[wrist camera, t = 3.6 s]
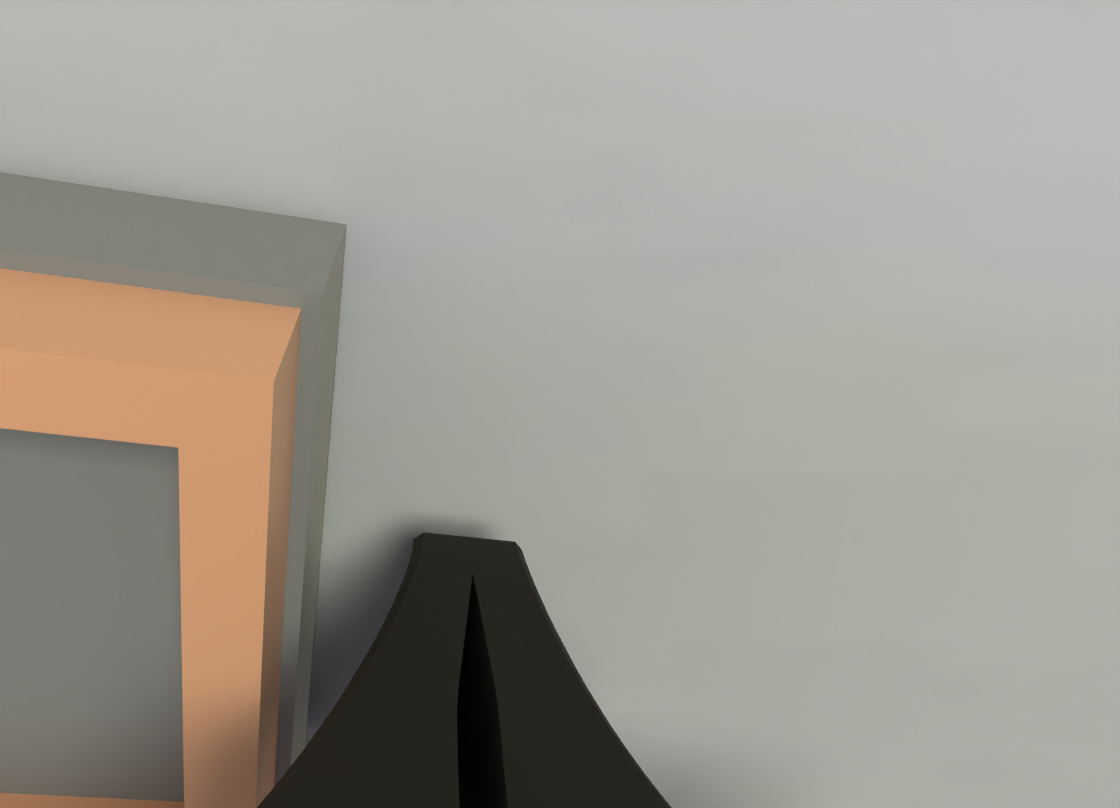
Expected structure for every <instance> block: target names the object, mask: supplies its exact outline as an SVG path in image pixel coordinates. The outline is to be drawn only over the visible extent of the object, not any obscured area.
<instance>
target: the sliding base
mask: <svg viewBox="0 0 1120 808" xmlns="http://www.w3.org/2000/svg"><path fill="white" fill-rule="evenodd" d="M345 235H346V225H345V224H339V223H332V222H325V221H319V220H312V219H305V218H299V217H292V216H285V215H279V214H272V213H265V212H259V211H252V210H246V209H239V208H232V207H226V206H219V205H212V204H206V203H199V202H192V201H186V200H179V199H172V198H166V197H159V196H152V195H146V194H139V193H132V192H126V191H119V190H112V189H106V188H99V187H92V186H86V185H79V184H73V183H66V182H59V181H53V180H46V179H39V178H33V177H26V176H19V175H13V174H6V173H0V808H257V807H258V806H259V804H260V803H261V802H262V801H263V800H264V798H265V797H266V796H267V795H268V794H269V793H270V791H271V790H272V789H273V788H274V786H275V785H276V784H277V783H278V781H279V780H280V779H281V778H282V776H283V775H284V774H285V773H286V771H287V770H288V769H289V768H290V766H291V765H292V764H293V763H294V761H295V760H296V759H297V758H298V756H299V755H300V754H301V753H302V751H303V750H304V746H305V741H306V731H307V718H308V705H309V693H310V680H311V667H312V654H313V642H314V629H315V616H316V604H317V591H318V578H319V566H320V553H321V540H322V527H323V515H324V502H325V489H326V477H327V464H328V451H329V439H330V426H331V413H332V401H333V388H334V375H335V362H336V350H337V337H338V324H339V312H340V299H341V286H342V274H343V261H344V248H345Z"/></svg>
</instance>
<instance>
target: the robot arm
mask: <svg viewBox="0 0 1120 808" xmlns="http://www.w3.org/2000/svg"><path fill="white" fill-rule="evenodd" d="M257 808H671V807H670V805H669V804H668V803H667V801H666V800H665V799H664V798H663V796H662V795H661V794H660V793H659V791H658V790H657V789H656V788H655V786H654V785H653V784H652V782H651V781H650V780H649V779H648V777H647V776H646V775H645V773H644V772H643V771H642V769H641V768H640V767H639V765H638V764H637V762H636V761H635V760H634V758H633V757H632V756H631V754H630V753H629V752H628V750H627V749H626V747H625V746H624V744H623V743H622V742H621V740H620V739H619V737H618V736H617V734H616V733H615V731H614V730H613V728H612V727H611V725H610V724H609V722H608V721H607V719H606V718H605V716H604V714H603V713H602V711H601V709H600V708H599V706H598V705H597V703H596V701H595V700H594V698H593V696H592V695H591V693H590V692H589V690H588V688H587V687H586V685H585V683H584V681H583V680H582V678H581V676H580V674H579V673H578V671H577V669H576V667H575V666H574V664H573V662H572V660H571V658H570V656H569V654H568V652H567V650H566V649H565V647H564V645H563V643H562V641H561V639H560V637H559V635H558V633H557V632H556V630H555V628H554V625H553V623H552V621H551V619H550V617H549V615H548V613H547V611H546V609H545V606H544V604H543V602H542V600H541V598H540V596H539V593H538V591H537V589H536V586H535V584H534V582H533V579H532V577H531V574H530V572H529V569H528V566H527V564H526V561H525V558H524V555H523V552H522V550H521V548H520V547H519V546H518V545H517V544H516V542H511V541H501V540H491V539H481V538H471V537H462V536H452V535H442V534H432V533H422V534H421V535H419V536H418V537H416V538H414V543H413V549H412V555H411V558H410V562H409V565H408V568H407V571H406V574H405V577H404V580H403V582H402V584H401V587H400V589H399V592H398V594H397V596H396V599H395V601H394V603H393V605H392V607H391V609H390V611H389V613H388V615H387V617H386V619H385V621H384V623H383V625H382V627H381V629H380V631H379V633H378V635H377V637H376V639H375V641H374V643H373V645H372V646H371V648H370V650H369V652H368V653H367V655H366V657H365V658H364V660H363V662H362V663H361V665H360V667H359V668H358V670H357V672H356V673H355V675H354V677H353V678H352V680H351V682H350V683H349V685H348V687H347V688H346V690H345V691H344V693H343V695H342V696H341V698H340V699H339V701H338V702H337V704H336V705H335V707H334V708H333V710H332V711H331V713H330V714H329V715H328V717H327V718H326V720H325V721H324V723H323V724H322V725H321V727H320V728H319V730H318V731H317V732H316V734H315V735H314V736H313V738H312V739H311V741H310V742H309V743H308V745H307V746H306V747H305V749H304V750H303V751H302V753H301V754H300V755H299V756H298V758H297V759H296V760H295V761H294V763H293V764H292V765H291V766H290V768H289V769H288V770H287V771H286V773H285V774H284V775H283V776H282V778H281V779H280V780H279V781H278V783H277V784H276V785H275V786H274V788H273V789H272V790H271V791H270V793H269V794H268V795H267V796H266V797H265V798H264V800H263V801H262V802H261V803H260V804H259V806H258V807H257Z"/></svg>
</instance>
